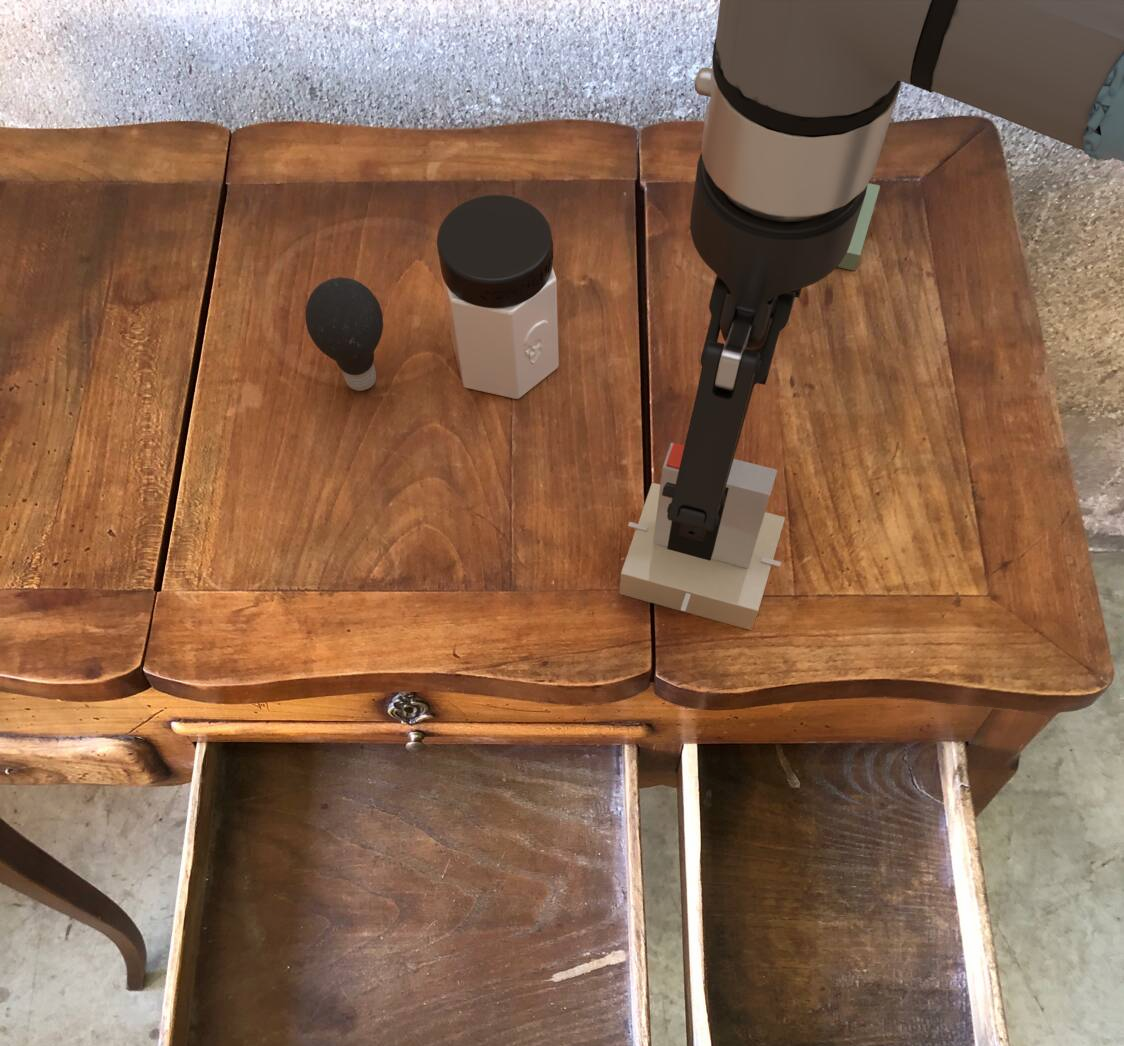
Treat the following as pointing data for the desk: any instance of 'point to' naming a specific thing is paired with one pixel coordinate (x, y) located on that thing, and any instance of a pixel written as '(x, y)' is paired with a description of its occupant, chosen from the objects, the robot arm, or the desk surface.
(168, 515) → the desk surface
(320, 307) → the light bulb
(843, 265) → the button block
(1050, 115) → the robot arm
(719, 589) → the panel
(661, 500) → the tap handle
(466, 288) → the jar
